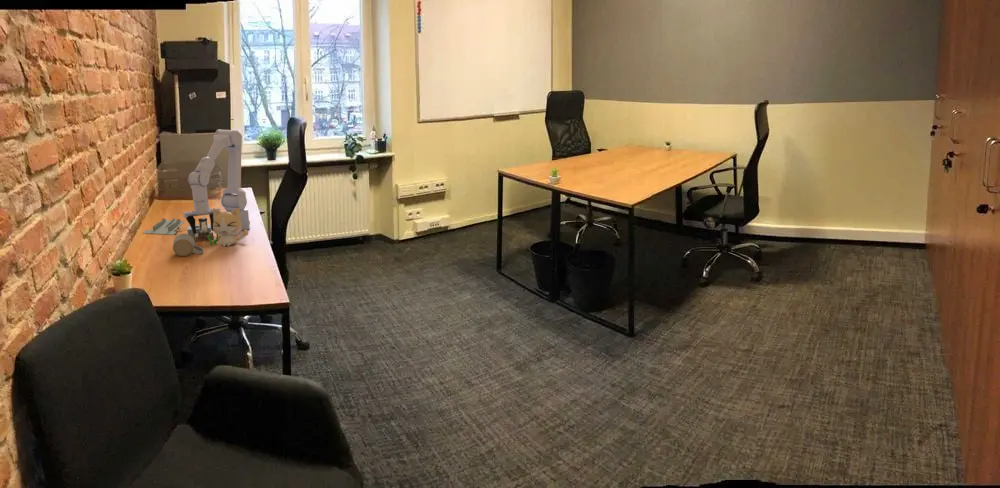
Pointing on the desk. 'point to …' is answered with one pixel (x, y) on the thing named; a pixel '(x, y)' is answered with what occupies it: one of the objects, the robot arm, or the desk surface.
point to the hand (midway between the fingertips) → (203, 232)
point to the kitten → (227, 227)
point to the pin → (203, 226)
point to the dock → (197, 230)
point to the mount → (203, 237)
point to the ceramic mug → (185, 245)
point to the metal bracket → (165, 227)
